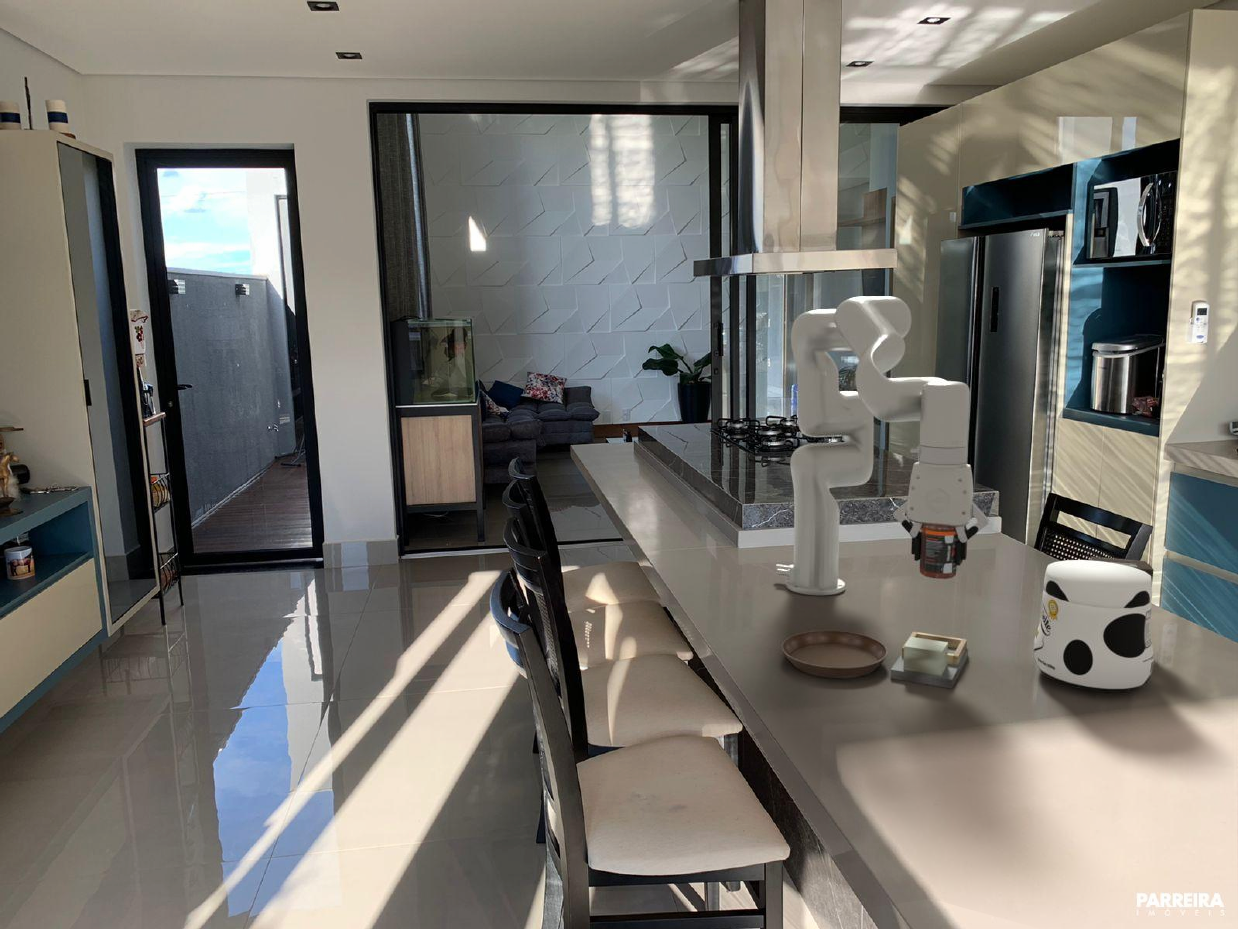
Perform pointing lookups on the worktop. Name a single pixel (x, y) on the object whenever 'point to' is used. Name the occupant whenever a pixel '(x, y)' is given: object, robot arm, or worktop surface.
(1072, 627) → the milk container
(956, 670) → the base
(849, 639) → the plant saucer
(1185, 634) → the worktop surface
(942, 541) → the supplement bottle
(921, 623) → the worktop surface
